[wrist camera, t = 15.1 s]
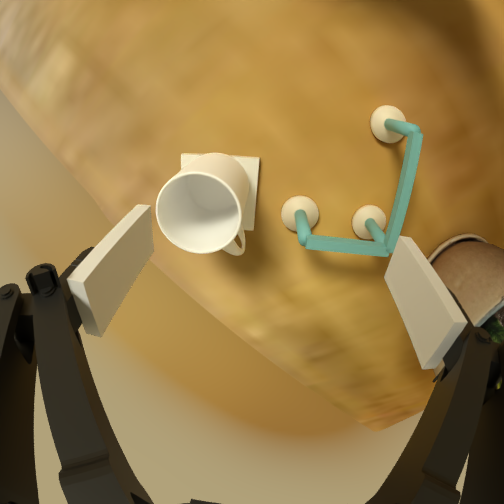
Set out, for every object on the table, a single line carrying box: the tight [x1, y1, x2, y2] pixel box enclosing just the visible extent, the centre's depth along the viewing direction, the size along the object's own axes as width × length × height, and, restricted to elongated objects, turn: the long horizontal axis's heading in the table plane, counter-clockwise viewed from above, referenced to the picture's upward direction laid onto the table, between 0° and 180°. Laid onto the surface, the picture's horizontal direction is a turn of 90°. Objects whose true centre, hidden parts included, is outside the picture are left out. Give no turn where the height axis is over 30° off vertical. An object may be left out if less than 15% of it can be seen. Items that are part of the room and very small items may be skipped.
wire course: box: [281, 105, 423, 257], centre depth 31 cm, size 19×15×9 cm
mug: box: [156, 153, 249, 256], centre depth 33 cm, size 9×12×11 cm
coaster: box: [181, 153, 260, 231], centre depth 38 cm, size 10×10×1 cm
